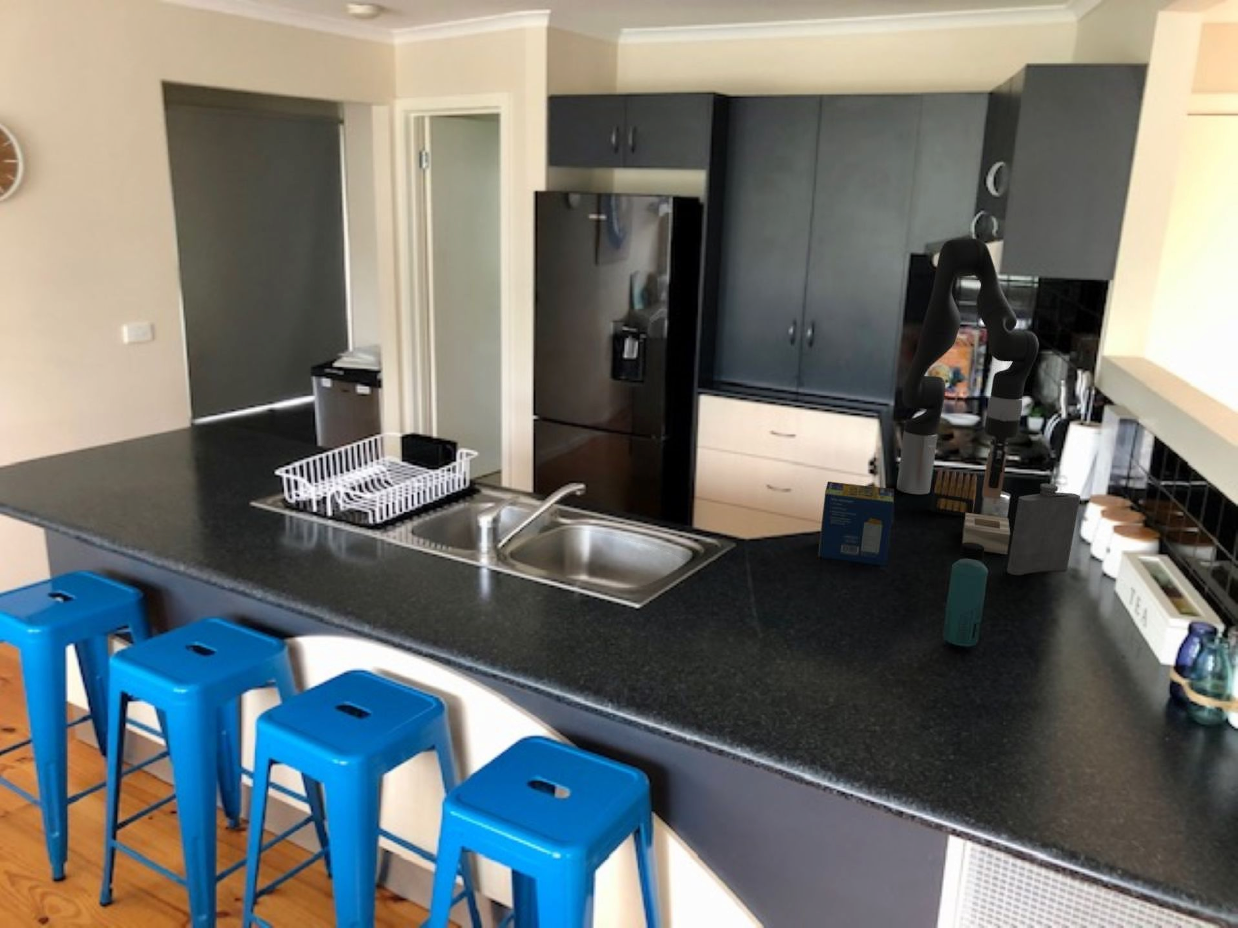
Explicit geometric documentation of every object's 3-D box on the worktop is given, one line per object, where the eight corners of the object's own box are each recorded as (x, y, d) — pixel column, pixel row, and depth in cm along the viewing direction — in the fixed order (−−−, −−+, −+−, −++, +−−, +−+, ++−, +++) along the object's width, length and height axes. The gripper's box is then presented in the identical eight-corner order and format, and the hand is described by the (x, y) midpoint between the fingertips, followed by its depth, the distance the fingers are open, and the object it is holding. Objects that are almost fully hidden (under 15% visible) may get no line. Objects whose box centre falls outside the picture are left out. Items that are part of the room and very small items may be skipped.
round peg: (978, 521, 249) (983, 488, 247) (1004, 525, 247) (1009, 492, 245) (978, 528, 244) (983, 495, 241) (1005, 532, 242) (1011, 498, 239)
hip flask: (1013, 575, 213) (1027, 490, 207) (1001, 569, 216) (1014, 484, 211) (1070, 569, 218) (1085, 486, 213) (1057, 563, 222) (1071, 481, 216)
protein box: (820, 542, 228) (827, 480, 224) (887, 551, 225) (895, 488, 220) (817, 557, 219) (824, 492, 215) (886, 566, 215) (894, 501, 211)
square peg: (982, 492, 233) (988, 452, 230) (999, 494, 231) (1006, 455, 229) (982, 496, 229) (988, 456, 226) (1000, 499, 228) (1006, 458, 225)
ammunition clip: (973, 516, 253) (979, 473, 250) (972, 518, 252) (978, 474, 249) (931, 509, 258) (937, 466, 255) (930, 510, 257) (936, 468, 253)
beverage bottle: (973, 657, 172) (989, 553, 167) (935, 647, 176) (950, 545, 170) (981, 644, 178) (996, 543, 172) (944, 635, 181) (959, 535, 176)
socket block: (962, 531, 241) (965, 512, 240) (1005, 537, 238) (1008, 518, 236) (962, 547, 229) (965, 528, 228) (1006, 554, 226) (1010, 534, 225)
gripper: (986, 408, 233) (976, 475, 237) (986, 419, 220) (976, 490, 224) (1019, 411, 230) (1008, 480, 235) (1021, 423, 217) (1010, 495, 222)
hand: (992, 484), depth 229 cm, fingers closed on square peg, 4 cm apart
